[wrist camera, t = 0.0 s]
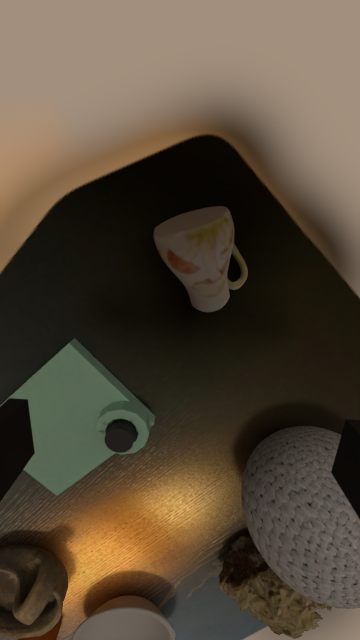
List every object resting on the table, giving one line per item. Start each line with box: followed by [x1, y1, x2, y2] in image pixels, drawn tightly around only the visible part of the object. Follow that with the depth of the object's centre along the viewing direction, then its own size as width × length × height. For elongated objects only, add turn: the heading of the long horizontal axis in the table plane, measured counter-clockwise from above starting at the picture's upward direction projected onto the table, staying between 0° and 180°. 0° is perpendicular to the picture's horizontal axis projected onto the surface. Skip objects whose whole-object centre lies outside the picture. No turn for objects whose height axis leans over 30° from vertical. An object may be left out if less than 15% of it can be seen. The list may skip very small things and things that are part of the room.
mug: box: [154, 206, 248, 312], centre depth 25 cm, size 8×10×10 cm
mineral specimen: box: [219, 535, 331, 638], centre depth 36 cm, size 14×13×10 cm
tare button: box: [105, 419, 136, 453], centre depth 30 cm, size 3×3×2 cm
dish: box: [72, 595, 175, 640], centre depth 43 cm, size 18×14×5 cm
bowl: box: [0, 544, 68, 639], centre depth 37 cm, size 14×18×10 cm
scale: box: [0, 338, 155, 496], centre depth 33 cm, size 18×15×4 cm
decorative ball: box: [242, 426, 360, 609], centre depth 28 cm, size 15×15×15 cm
